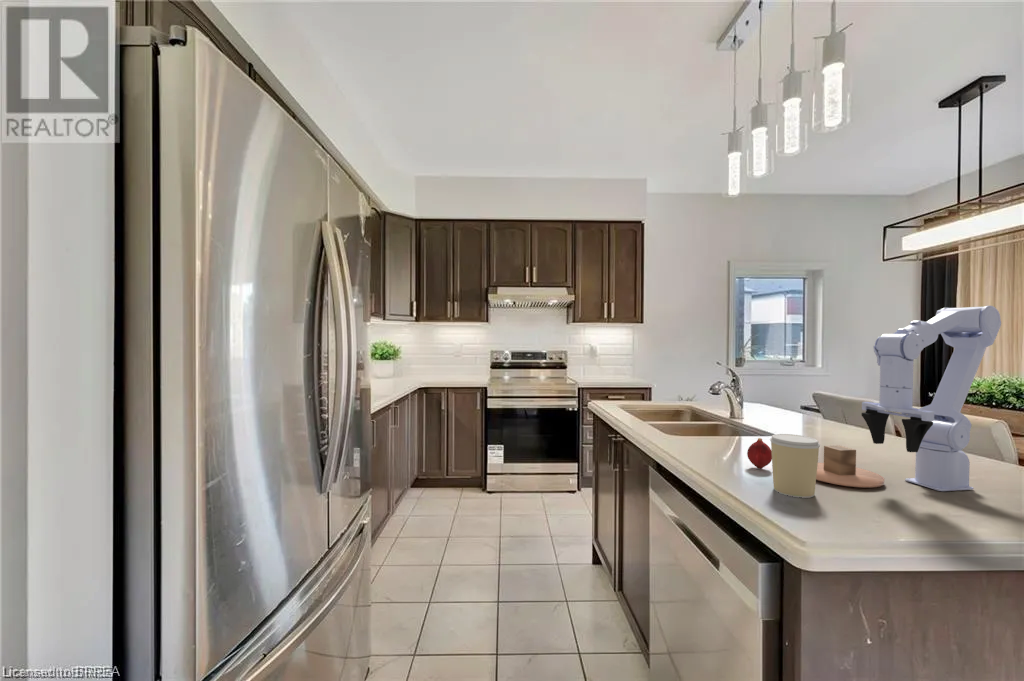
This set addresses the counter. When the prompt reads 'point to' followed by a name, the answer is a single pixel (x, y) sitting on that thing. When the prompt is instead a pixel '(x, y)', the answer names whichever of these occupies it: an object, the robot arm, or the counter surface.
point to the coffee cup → (794, 464)
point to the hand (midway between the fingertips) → (894, 447)
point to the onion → (759, 454)
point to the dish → (850, 478)
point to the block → (840, 460)
